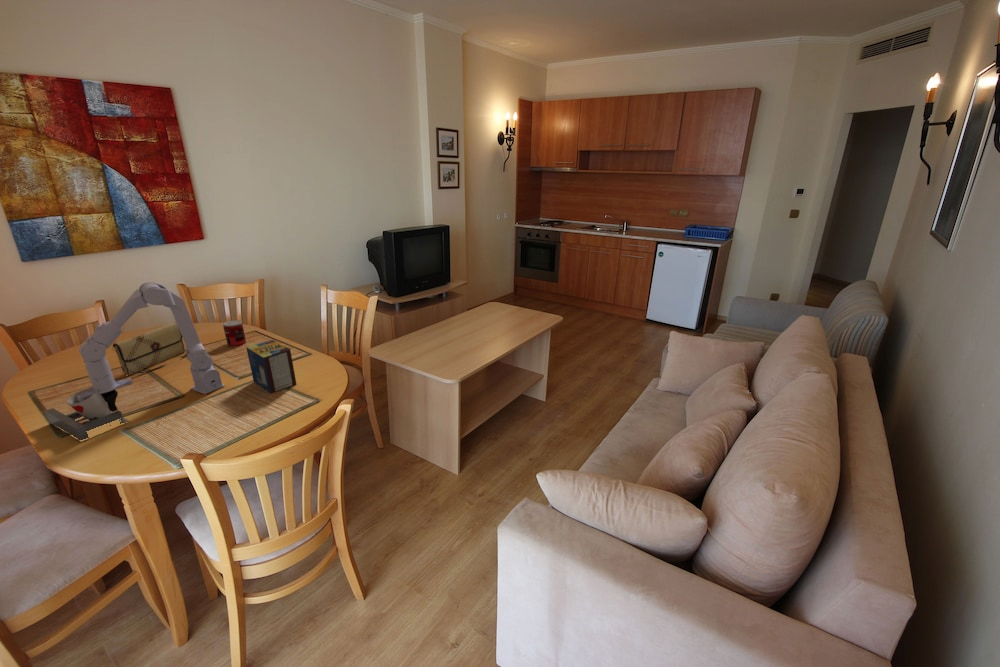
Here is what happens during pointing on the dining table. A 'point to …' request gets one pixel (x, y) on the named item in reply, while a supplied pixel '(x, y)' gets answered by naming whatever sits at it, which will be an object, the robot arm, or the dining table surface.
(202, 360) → the robot arm
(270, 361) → the protein box
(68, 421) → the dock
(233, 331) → the canned food
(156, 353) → the clutch purse
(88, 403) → the cup
